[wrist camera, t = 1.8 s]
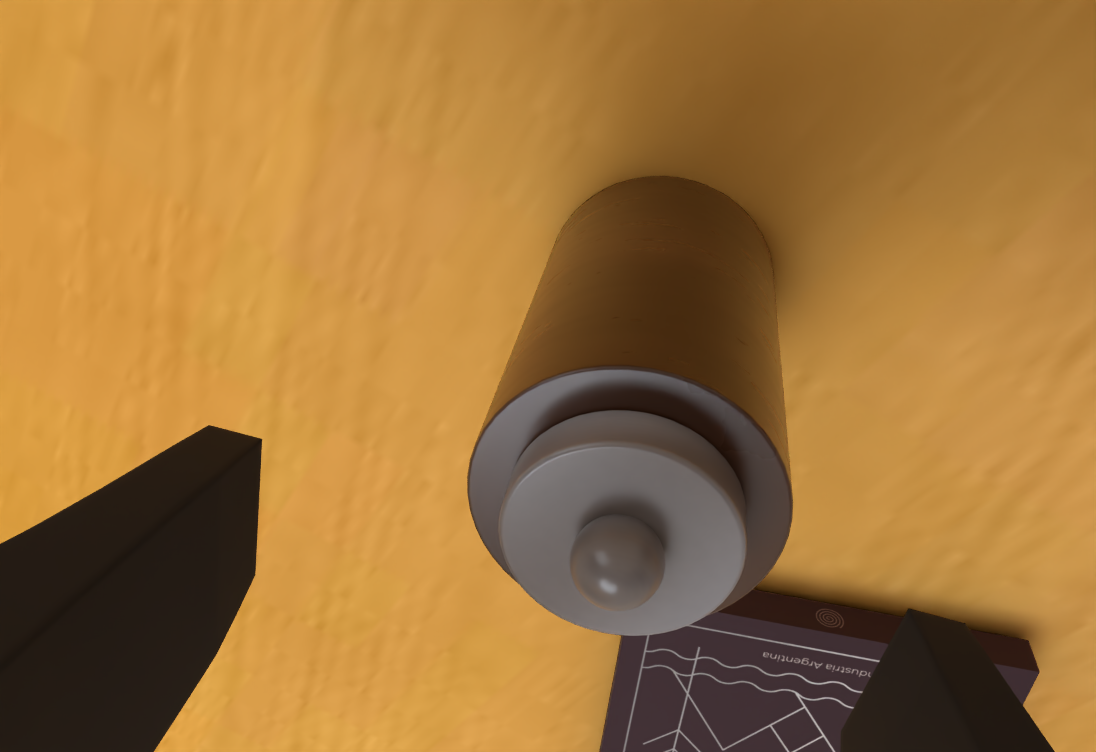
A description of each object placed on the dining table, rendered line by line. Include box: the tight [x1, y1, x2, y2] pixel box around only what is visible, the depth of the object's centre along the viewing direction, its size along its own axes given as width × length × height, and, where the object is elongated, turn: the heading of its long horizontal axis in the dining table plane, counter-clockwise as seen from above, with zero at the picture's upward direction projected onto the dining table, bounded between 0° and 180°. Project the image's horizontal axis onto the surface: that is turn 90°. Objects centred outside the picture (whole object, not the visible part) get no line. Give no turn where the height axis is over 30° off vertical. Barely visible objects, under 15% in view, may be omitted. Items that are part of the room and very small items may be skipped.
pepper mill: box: [467, 176, 793, 636], centre depth 16 cm, size 4×4×9 cm
